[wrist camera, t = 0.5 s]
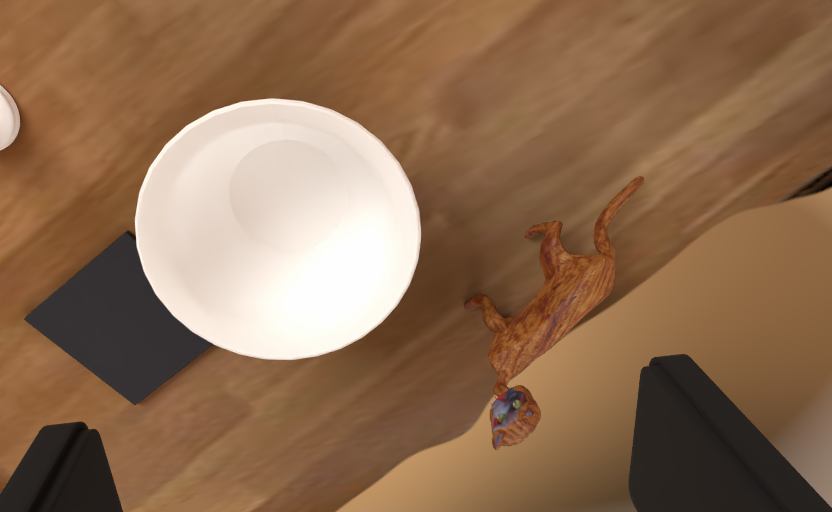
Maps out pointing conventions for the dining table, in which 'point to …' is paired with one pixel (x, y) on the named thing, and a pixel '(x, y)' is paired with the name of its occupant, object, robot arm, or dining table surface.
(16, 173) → the dining table surface
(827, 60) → the dining table surface
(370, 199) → the bowl
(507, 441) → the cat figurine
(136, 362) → the coaster
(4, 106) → the chess piece
